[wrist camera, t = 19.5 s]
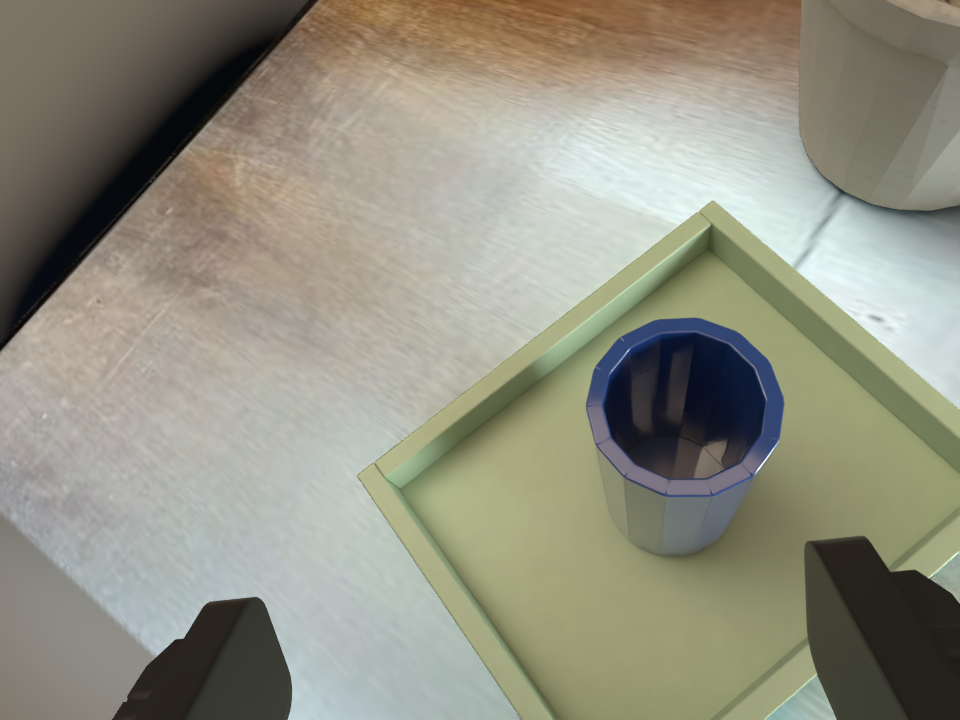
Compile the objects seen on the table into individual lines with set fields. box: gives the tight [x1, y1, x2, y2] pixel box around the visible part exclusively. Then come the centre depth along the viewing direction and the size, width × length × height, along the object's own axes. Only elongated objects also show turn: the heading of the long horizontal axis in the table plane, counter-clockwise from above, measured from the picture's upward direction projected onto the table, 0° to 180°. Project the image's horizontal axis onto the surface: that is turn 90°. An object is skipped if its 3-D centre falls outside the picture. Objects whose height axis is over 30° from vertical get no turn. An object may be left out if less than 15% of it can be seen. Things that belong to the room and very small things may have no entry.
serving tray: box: [357, 201, 960, 720], centre depth 27 cm, size 18×15×3 cm
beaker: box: [586, 317, 785, 557], centre depth 23 cm, size 5×5×10 cm
